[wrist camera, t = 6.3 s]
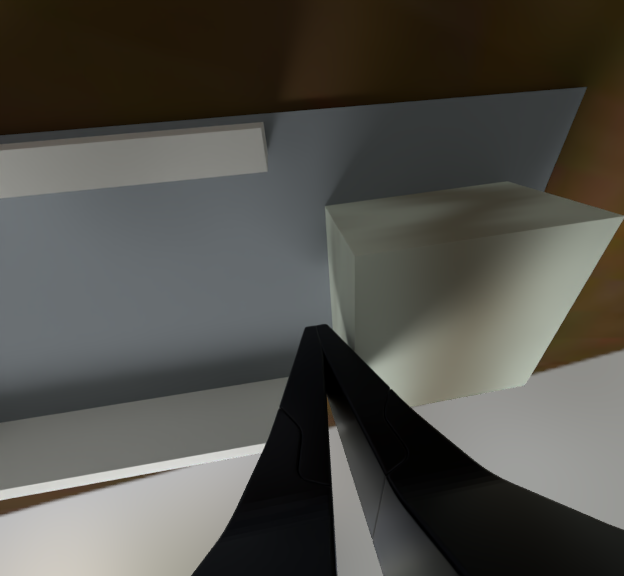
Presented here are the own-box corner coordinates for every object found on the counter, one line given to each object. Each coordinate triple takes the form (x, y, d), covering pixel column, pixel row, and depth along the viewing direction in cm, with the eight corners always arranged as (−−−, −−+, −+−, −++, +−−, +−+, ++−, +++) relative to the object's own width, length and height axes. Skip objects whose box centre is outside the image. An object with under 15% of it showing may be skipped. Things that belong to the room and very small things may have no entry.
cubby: (263, 121, 8) (261, 127, 5) (300, 381, 15) (308, 444, 12) (-406, 178, 7) (-902, 228, 4) (-22, 433, 14) (-98, 517, 11)
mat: (581, 87, 9) (587, 87, 9) (472, 355, 16) (475, 358, 16) (-491, 176, 7) (-511, 177, 6) (-50, 440, 14) (-54, 444, 14)
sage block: (507, 181, 10) (625, 215, 7) (463, 320, 14) (524, 385, 11) (325, 206, 10) (355, 256, 6) (333, 342, 14) (355, 417, 10)
